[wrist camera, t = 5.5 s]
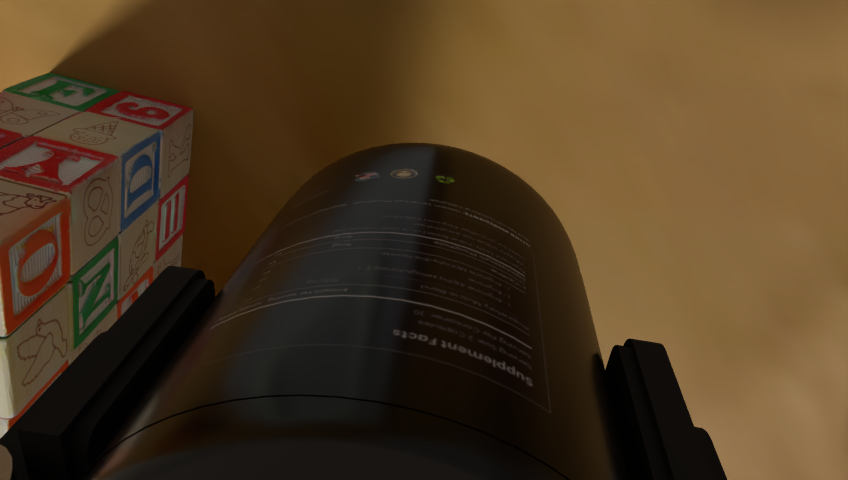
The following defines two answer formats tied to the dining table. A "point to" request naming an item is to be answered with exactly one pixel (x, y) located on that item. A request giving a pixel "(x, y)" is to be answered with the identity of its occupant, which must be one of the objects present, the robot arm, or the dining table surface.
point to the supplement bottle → (388, 341)
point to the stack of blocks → (80, 220)
